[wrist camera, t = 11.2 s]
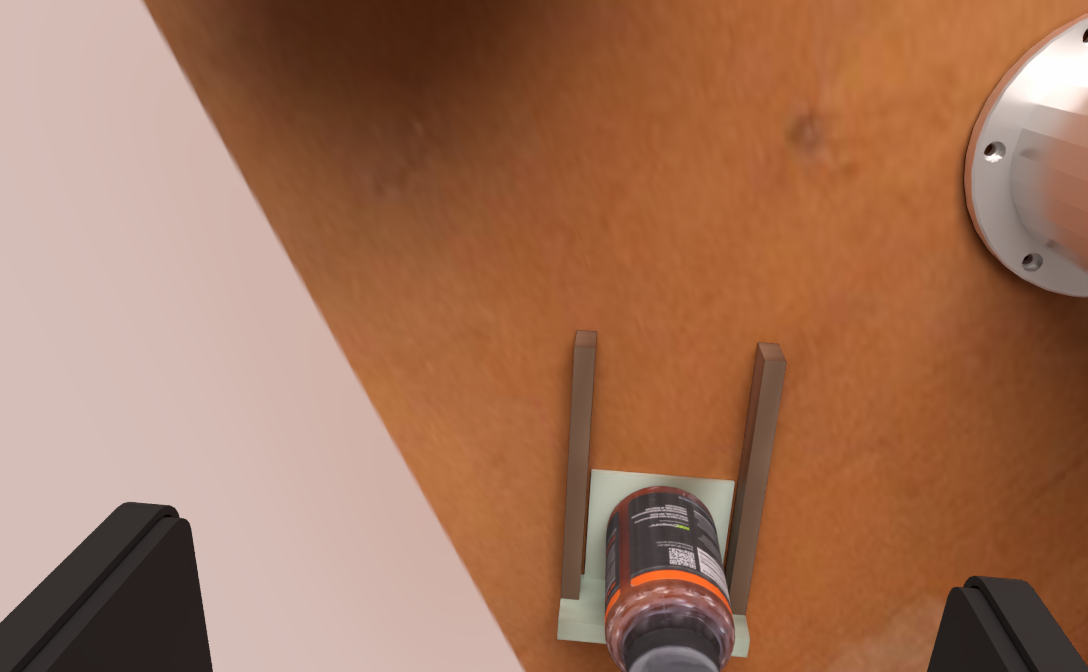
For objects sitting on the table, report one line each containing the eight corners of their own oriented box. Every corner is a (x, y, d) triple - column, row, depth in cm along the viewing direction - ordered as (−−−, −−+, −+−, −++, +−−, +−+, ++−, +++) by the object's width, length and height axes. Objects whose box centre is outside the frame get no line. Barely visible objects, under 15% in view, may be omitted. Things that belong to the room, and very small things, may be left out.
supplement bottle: (625, 582, 46) (625, 750, 36) (591, 496, 44) (581, 646, 34) (729, 558, 45) (760, 724, 35) (699, 468, 43) (722, 616, 33)
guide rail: (778, 343, 40) (793, 377, 37) (737, 605, 47) (747, 657, 43) (577, 330, 41) (572, 362, 37) (562, 589, 47) (557, 639, 44)
